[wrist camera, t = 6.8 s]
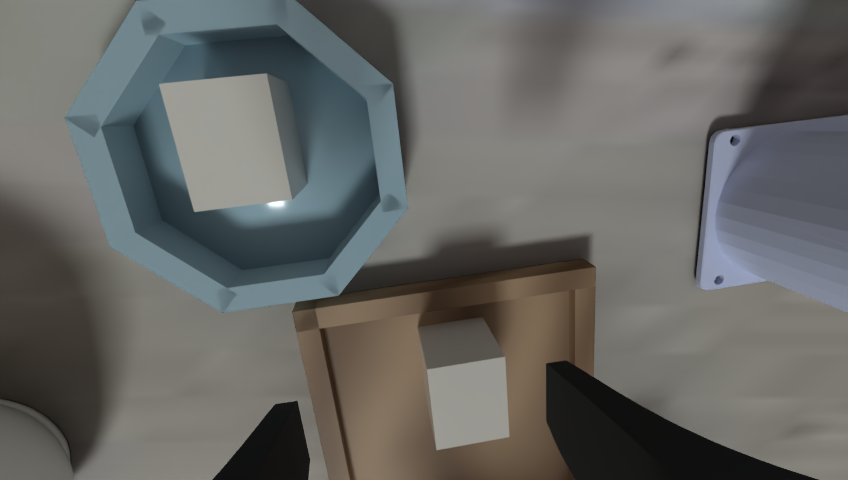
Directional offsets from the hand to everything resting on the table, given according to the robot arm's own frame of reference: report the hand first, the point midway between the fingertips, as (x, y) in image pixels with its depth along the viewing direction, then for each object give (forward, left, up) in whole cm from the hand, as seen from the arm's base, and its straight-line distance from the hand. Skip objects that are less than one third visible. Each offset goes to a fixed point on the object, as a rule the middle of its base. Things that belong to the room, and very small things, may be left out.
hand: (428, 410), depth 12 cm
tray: (-2, +7, -8) cm, 11 cm away
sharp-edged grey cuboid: (-2, +4, -8) cm, 9 cm away
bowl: (+5, -7, -8) cm, 12 cm away
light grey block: (+5, -8, -8) cm, 12 cm away
